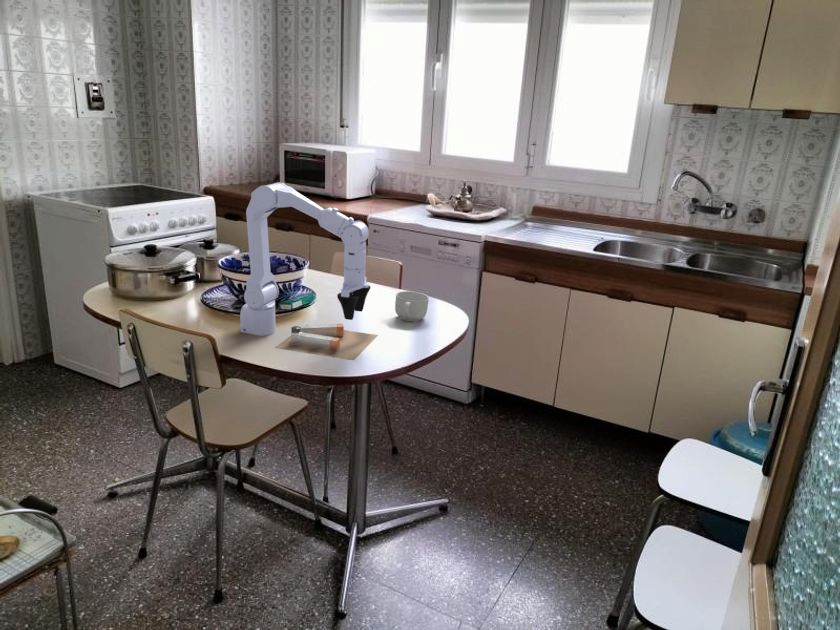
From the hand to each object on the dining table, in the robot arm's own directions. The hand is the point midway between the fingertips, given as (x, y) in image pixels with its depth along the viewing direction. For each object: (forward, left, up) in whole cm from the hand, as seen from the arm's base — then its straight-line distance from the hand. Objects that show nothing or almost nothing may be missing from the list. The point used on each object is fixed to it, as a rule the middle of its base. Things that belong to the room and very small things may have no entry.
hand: (353, 314), depth 170 cm
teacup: (+8, +30, -10) cm, 33 cm away
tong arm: (-10, +3, -9) cm, 14 cm away
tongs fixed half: (-10, -4, -9) cm, 14 cm away
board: (-7, 0, -10) cm, 13 cm away
